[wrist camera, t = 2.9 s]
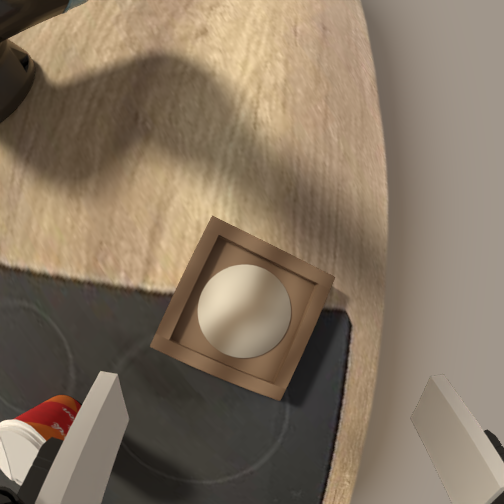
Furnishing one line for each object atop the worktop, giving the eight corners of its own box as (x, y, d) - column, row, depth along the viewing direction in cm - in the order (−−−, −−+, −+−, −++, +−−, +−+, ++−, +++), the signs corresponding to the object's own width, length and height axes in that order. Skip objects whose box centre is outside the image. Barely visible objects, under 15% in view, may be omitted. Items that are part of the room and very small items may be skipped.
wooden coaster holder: (154, 340, 34) (150, 346, 31) (210, 223, 37) (212, 215, 33) (271, 390, 36) (280, 400, 32) (321, 278, 39) (335, 277, 35)
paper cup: (91, 449, 31) (56, 507, 17) (39, 427, 30) (-11, 471, 16) (99, 399, 32) (58, 447, 18) (45, 376, 31) (-14, 408, 17)
